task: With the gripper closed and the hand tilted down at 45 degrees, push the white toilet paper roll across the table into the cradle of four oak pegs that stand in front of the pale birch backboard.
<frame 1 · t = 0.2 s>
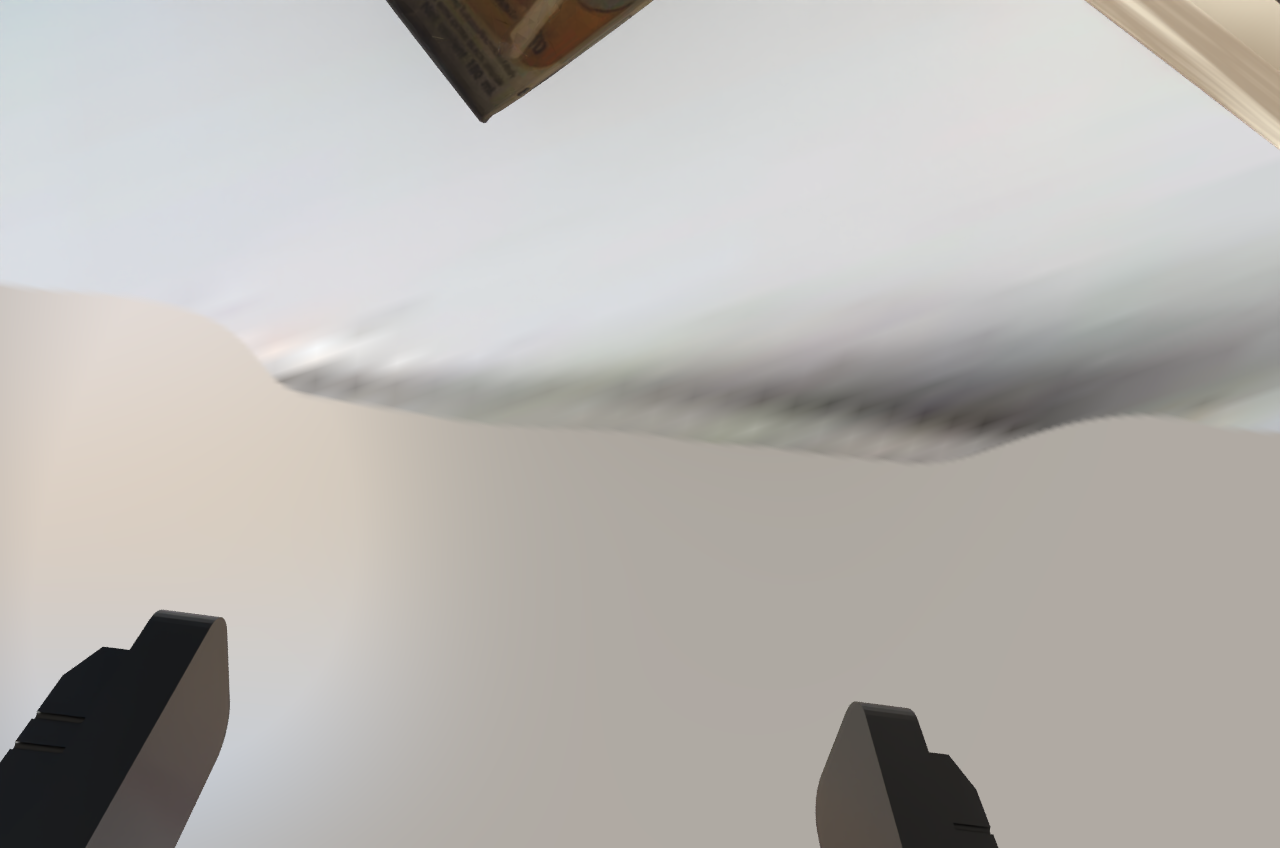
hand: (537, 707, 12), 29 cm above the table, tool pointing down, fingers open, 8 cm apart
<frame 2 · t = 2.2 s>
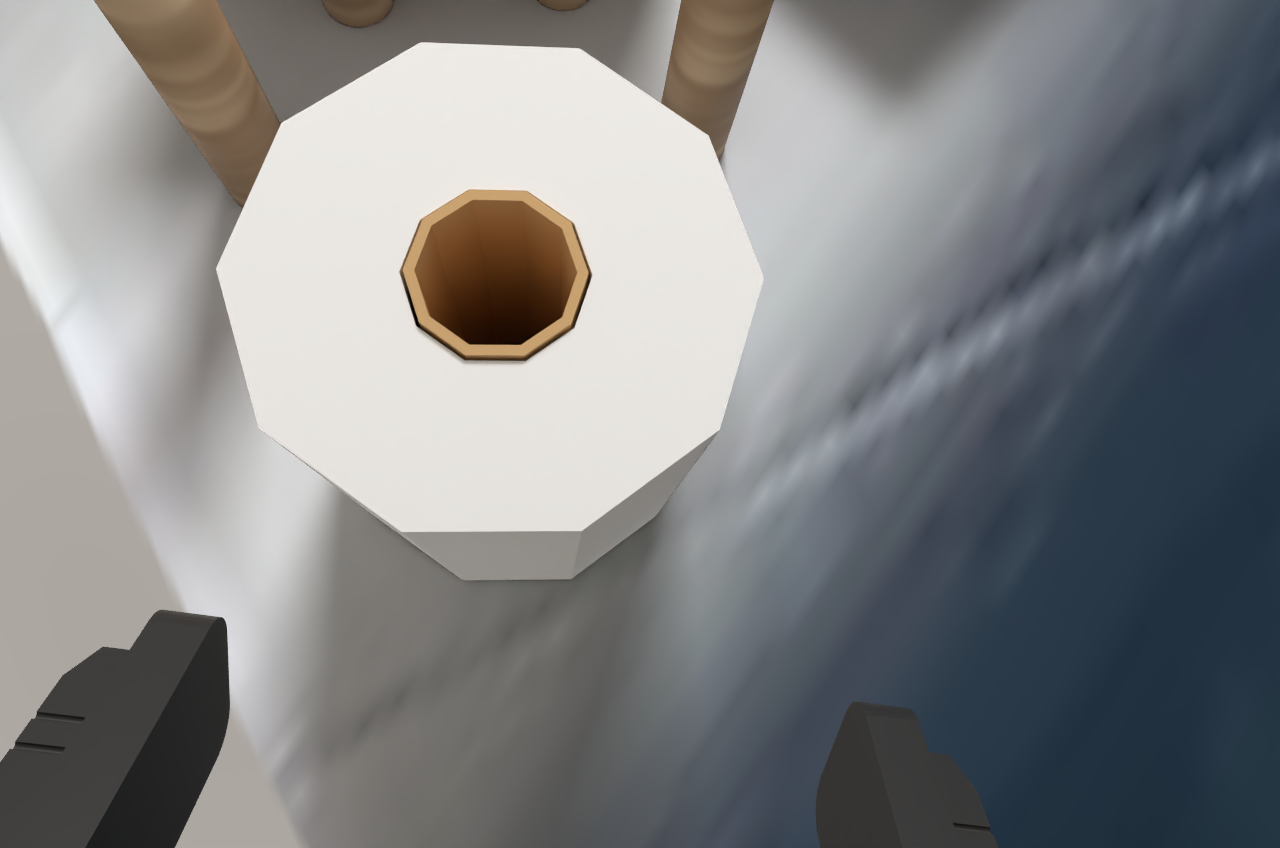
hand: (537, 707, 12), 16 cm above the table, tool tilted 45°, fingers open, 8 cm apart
toilet paper: (519, 421, 30), on the table
peg cradle: (480, 131, 32), on the table
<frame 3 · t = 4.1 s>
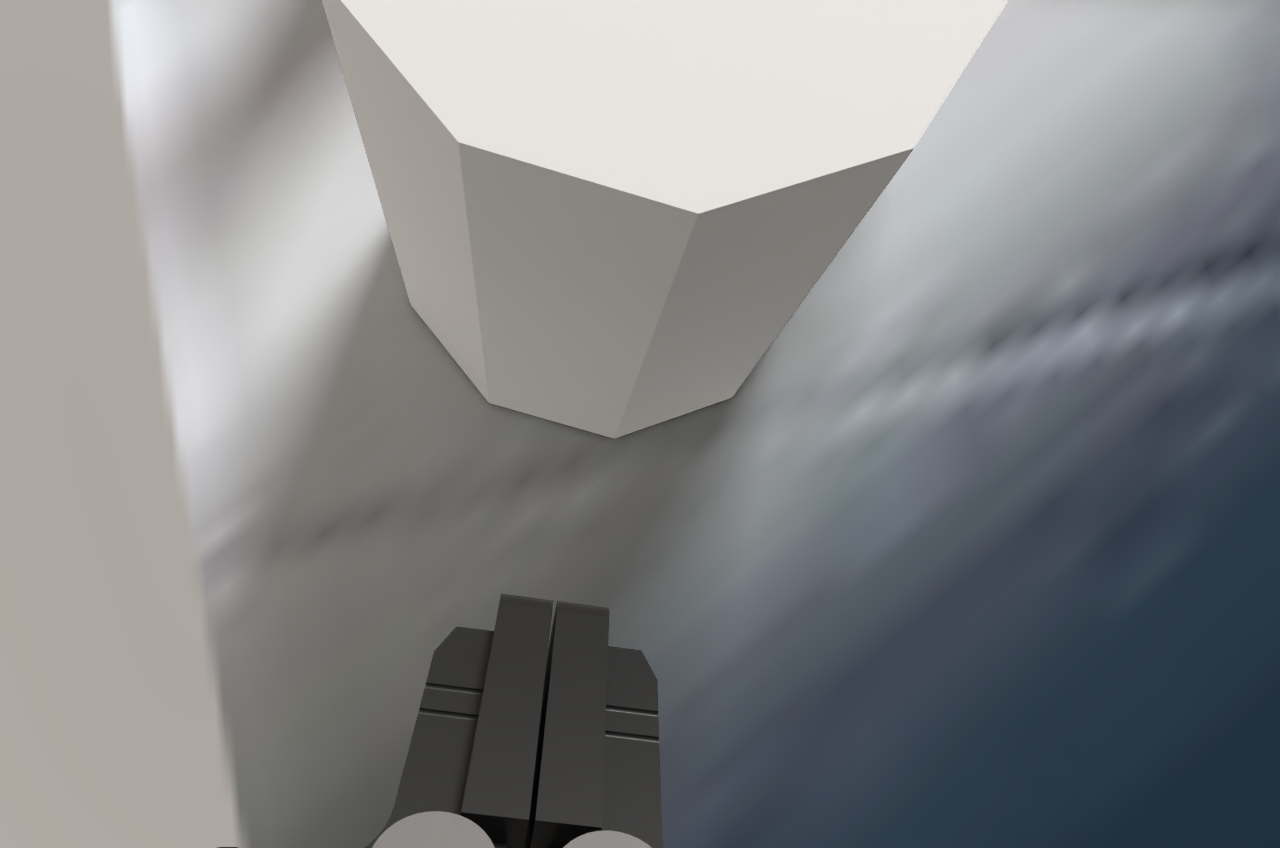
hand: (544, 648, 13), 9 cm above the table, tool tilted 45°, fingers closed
toilet paper: (603, 250, 25), on the table
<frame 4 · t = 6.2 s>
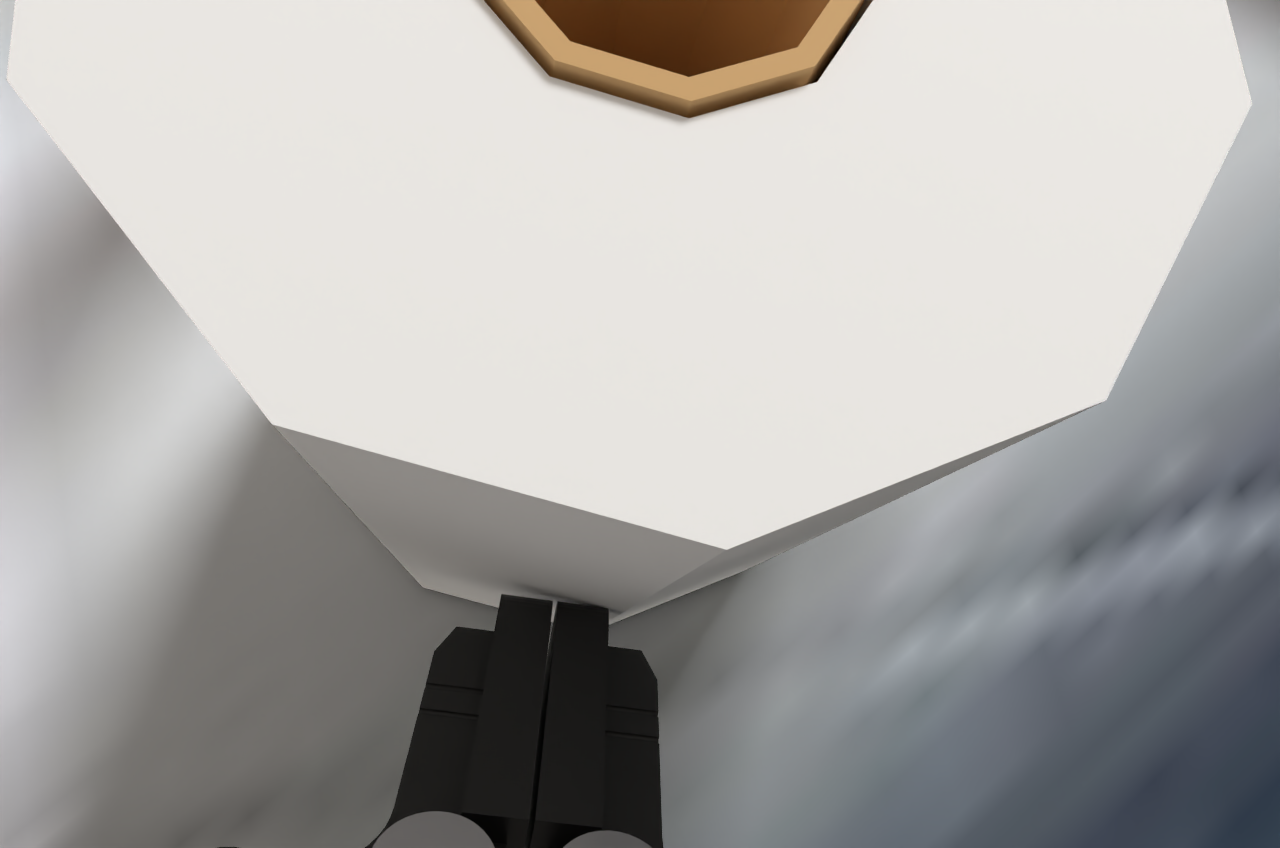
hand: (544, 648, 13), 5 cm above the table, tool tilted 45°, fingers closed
toilet paper: (575, 372, 20), on the table
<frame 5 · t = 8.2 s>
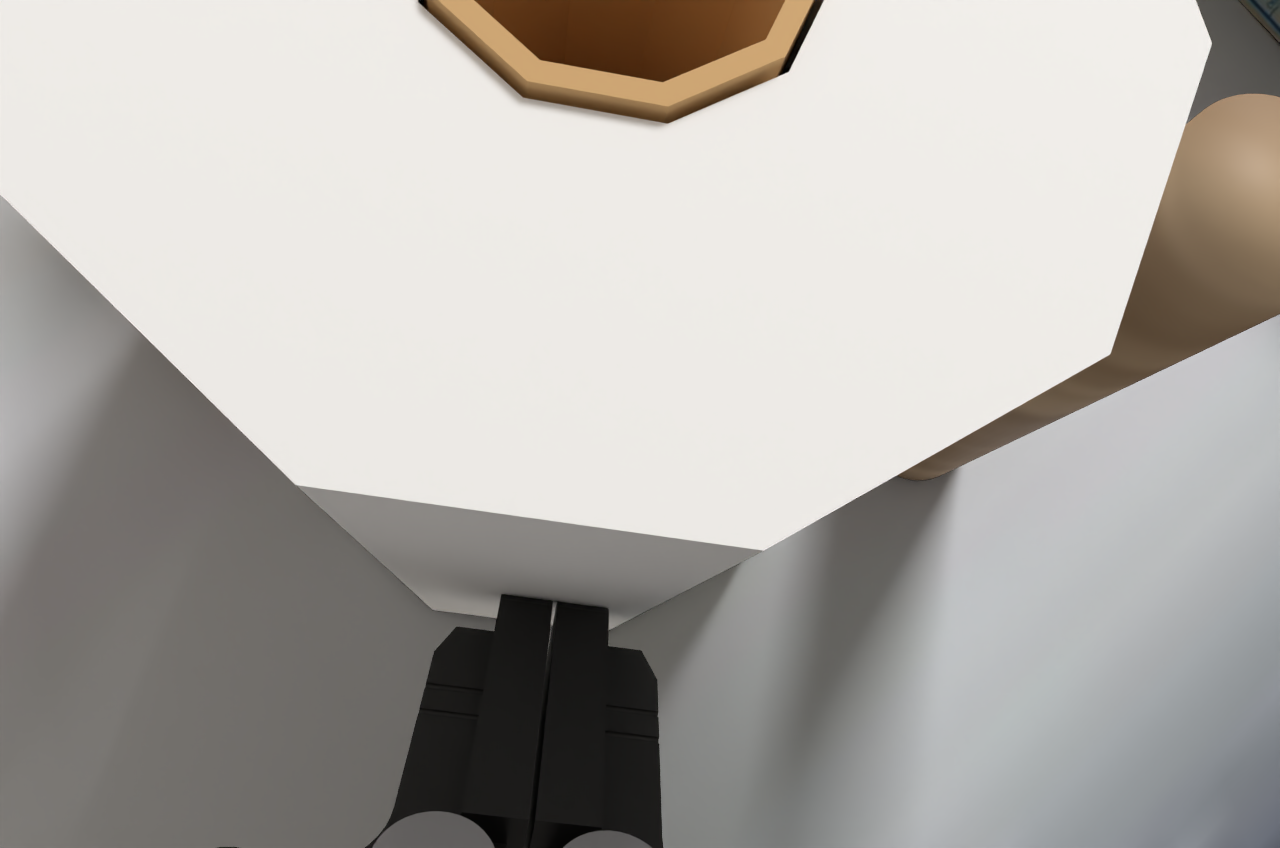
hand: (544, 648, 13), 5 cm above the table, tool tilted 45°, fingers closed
toilet paper: (556, 375, 20), on the table, touching gripper
peg cradle: (588, 324, 20), on the table
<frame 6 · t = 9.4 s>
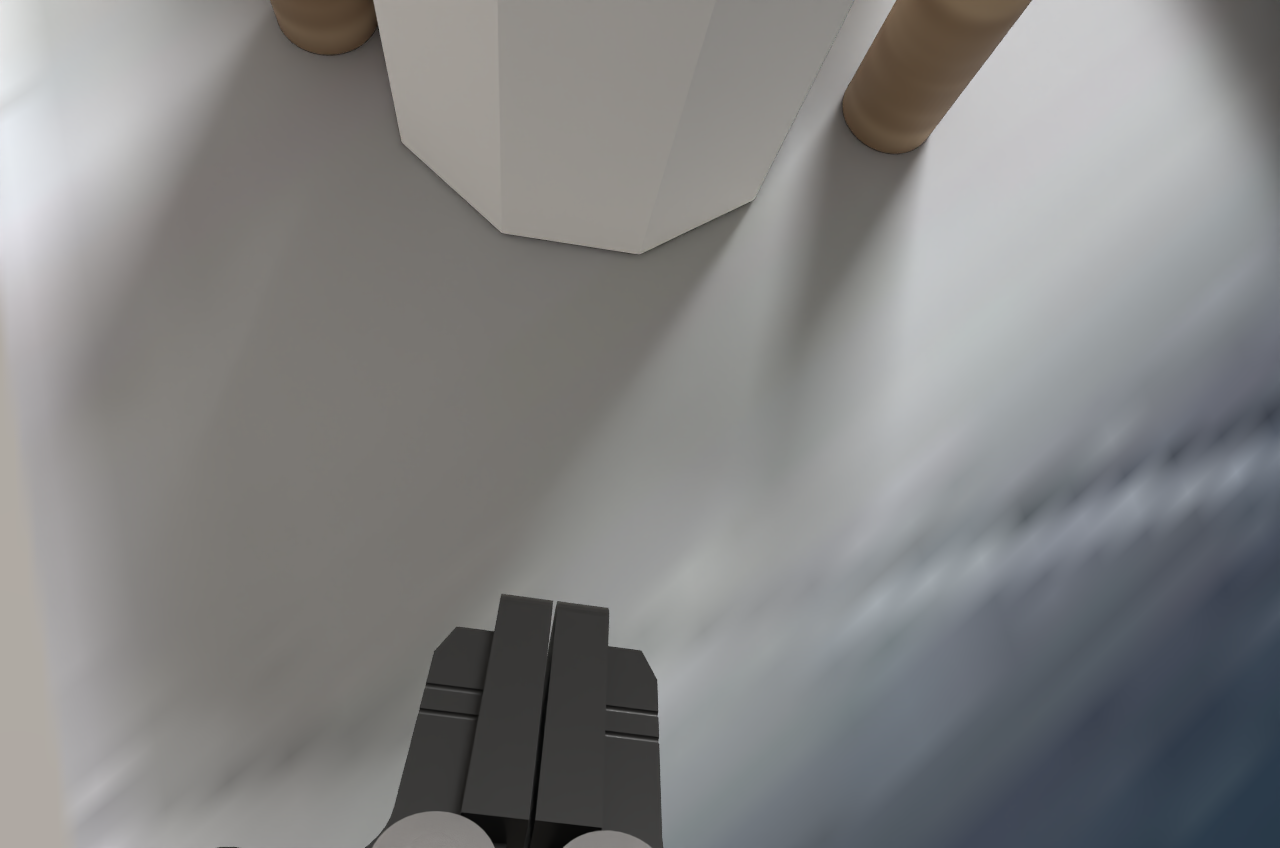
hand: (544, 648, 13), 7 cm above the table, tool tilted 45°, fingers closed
toilet paper: (595, 69, 24), on the table
peg cradle: (620, 28, 24), on the table
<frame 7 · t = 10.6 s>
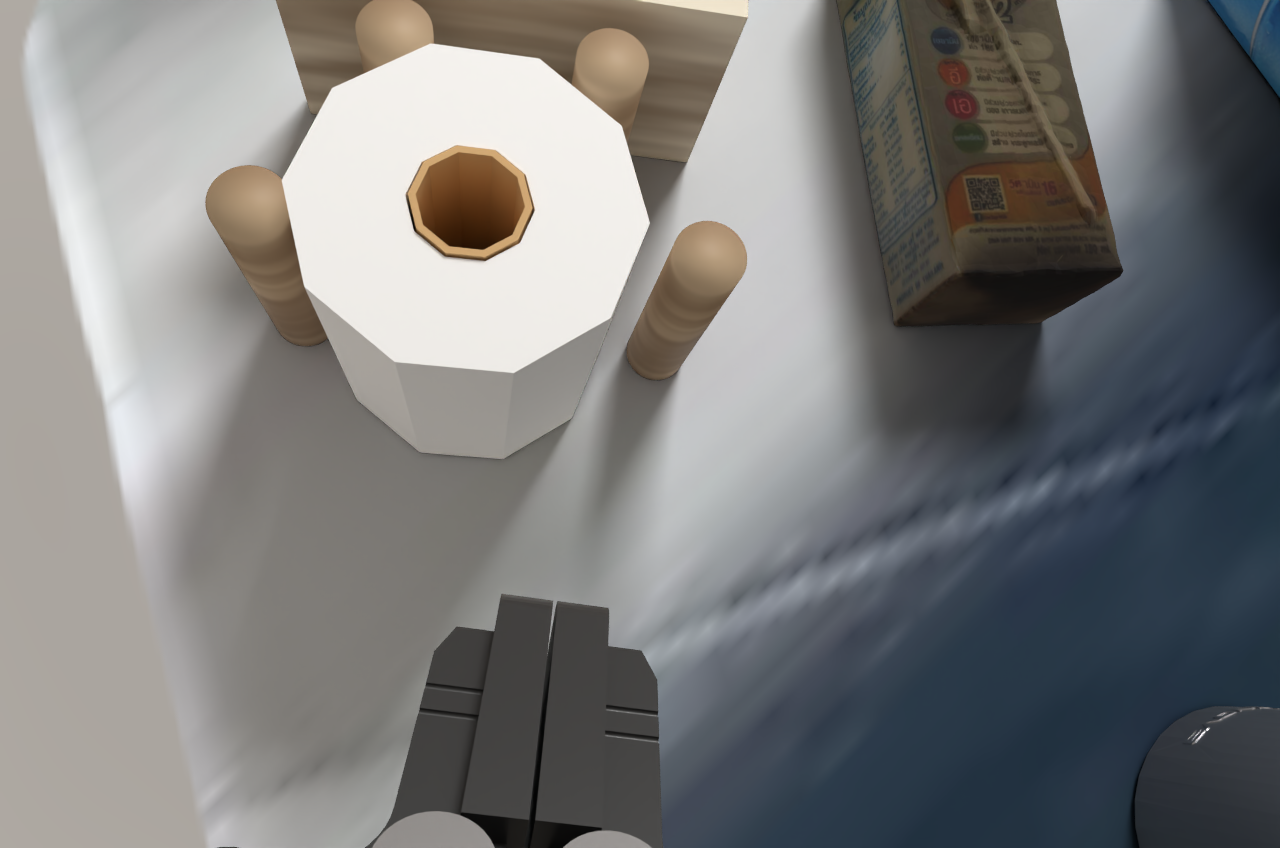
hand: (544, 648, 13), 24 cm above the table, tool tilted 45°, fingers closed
toilet paper: (472, 338, 39), on the table
beverage carton: (929, 144, 45), on the table
peg cradle: (487, 312, 39), on the table
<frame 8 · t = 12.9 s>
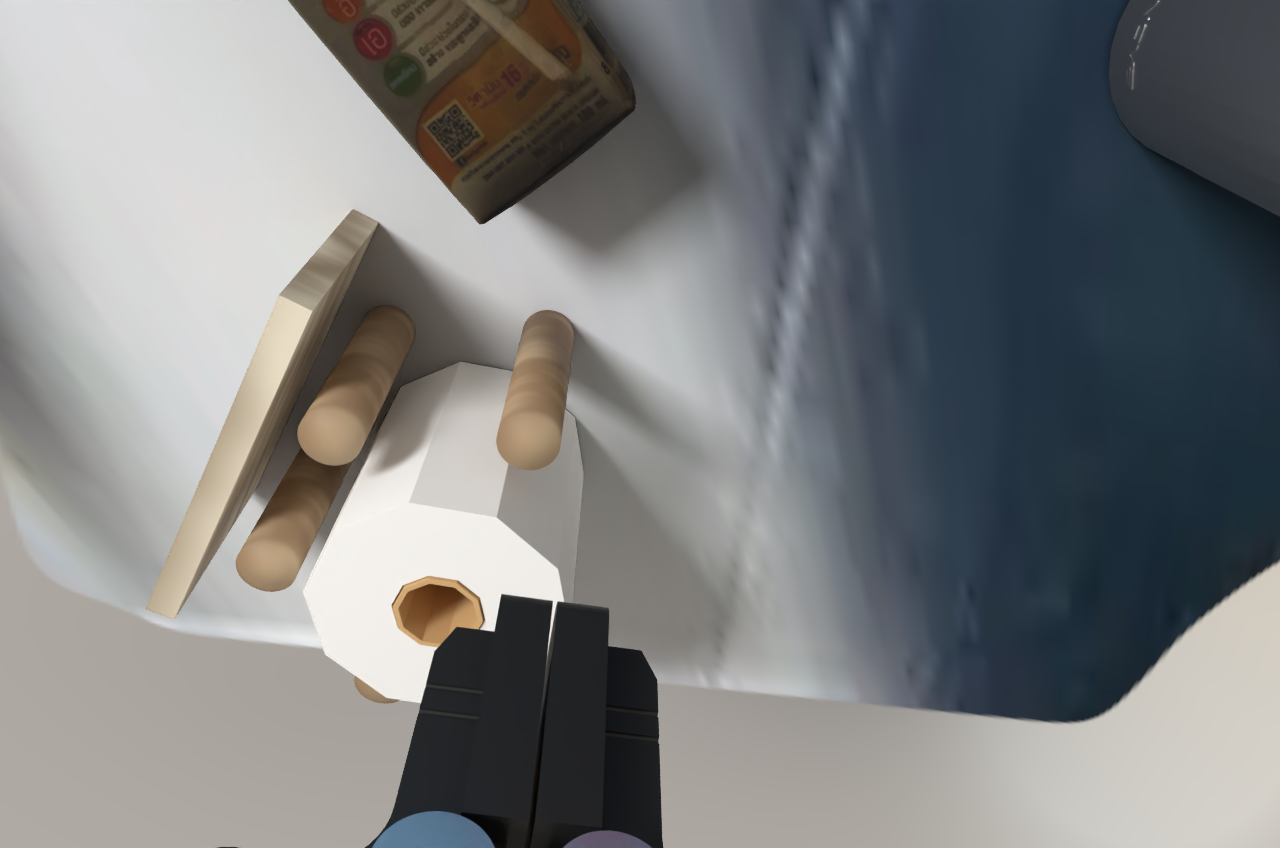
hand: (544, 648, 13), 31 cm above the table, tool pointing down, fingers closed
toilet paper: (481, 452, 48), on the table
peg cradle: (464, 437, 48), on the table
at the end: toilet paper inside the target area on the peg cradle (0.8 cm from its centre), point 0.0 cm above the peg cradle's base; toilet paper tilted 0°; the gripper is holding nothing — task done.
